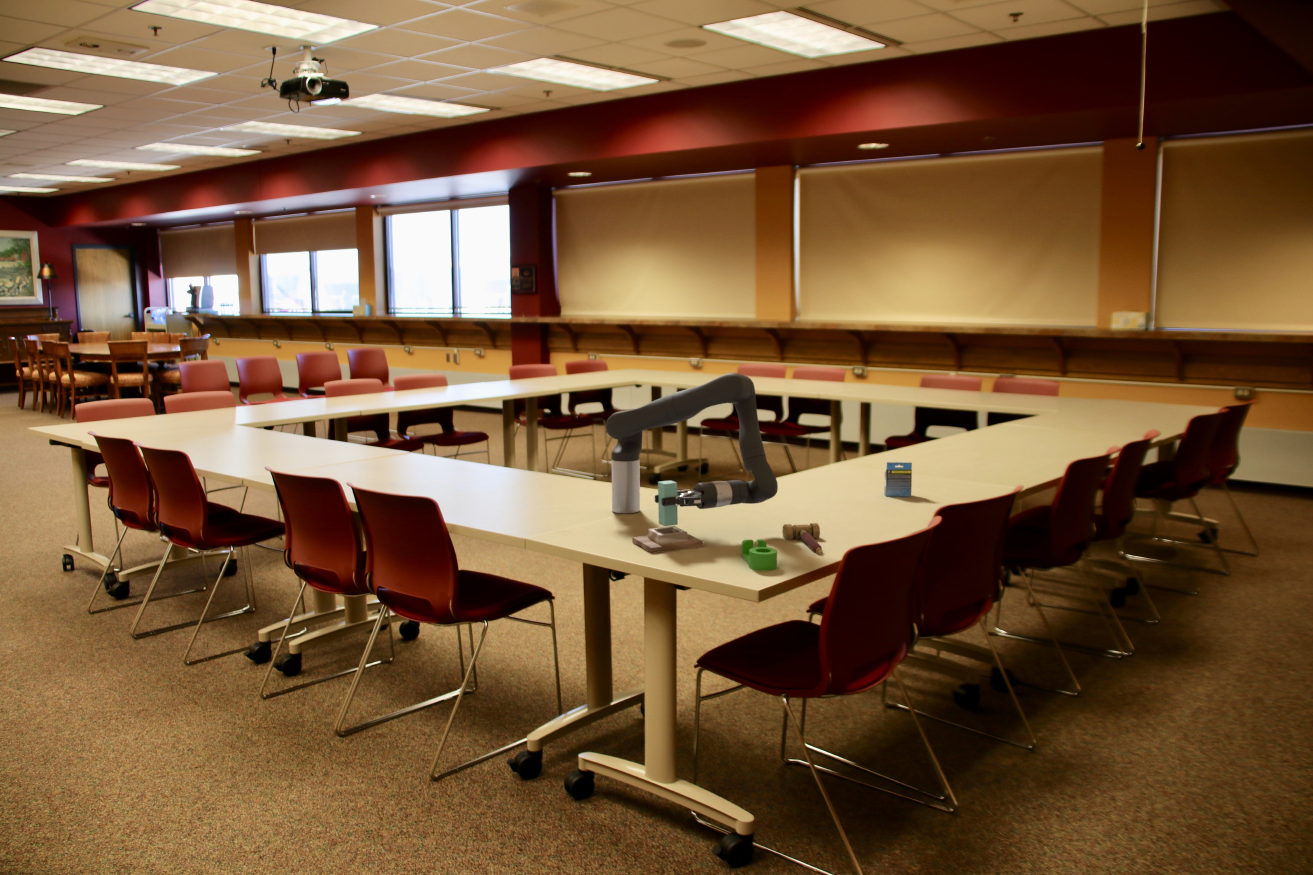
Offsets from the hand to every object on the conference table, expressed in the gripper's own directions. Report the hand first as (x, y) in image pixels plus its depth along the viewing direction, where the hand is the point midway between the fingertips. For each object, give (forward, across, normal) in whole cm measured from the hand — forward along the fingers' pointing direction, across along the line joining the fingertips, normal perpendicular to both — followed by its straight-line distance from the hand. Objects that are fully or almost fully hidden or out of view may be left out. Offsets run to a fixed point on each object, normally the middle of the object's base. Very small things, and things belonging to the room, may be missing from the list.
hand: (658, 500), depth 253 cm
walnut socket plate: (-3, 0, +13) cm, 13 cm away
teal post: (-3, 0, +7) cm, 8 cm away
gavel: (-38, +18, +14) cm, 44 cm away
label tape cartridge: (-105, -25, +14) cm, 108 cm away
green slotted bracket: (-16, +27, +14) cm, 35 cm away
